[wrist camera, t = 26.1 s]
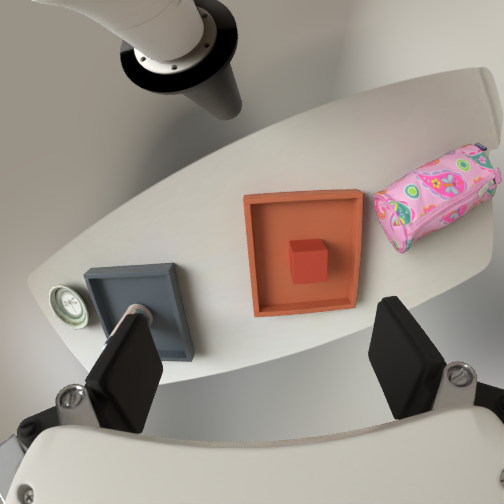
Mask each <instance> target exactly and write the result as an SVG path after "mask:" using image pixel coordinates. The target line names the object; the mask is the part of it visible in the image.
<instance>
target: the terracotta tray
mask: <svg viewBox="0 0 504 504" xmlns="http://www.w3.org/2000/svg"><path fill="white" fill-rule="evenodd" d="M243 202H244V213H245V223H246V234H247V245H248V256H249V266H250V277H251V287H252V298H253V308H254V317H265V316H279V315H292V314H303V313H314V312H323V311H333V310H341V309H350V308H356V300H357V291H358V281H359V270H360V257H361V241H362V217H363V192H361V191H359V190H357V189H346V190H317V191H296V192H279V193H264V194H251V195H244V198H243ZM307 239H321V240H322V242H323V243H324V245H325V246H326V248H327V250H328V268H327V282H318V283H307V284H295V285H294V284H293V281H292V277H291V273H290V262H289V241H292V240H307Z"/></svg>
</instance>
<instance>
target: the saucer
mask: <svg viewBox="0 0 504 504" xmlns="http://www.w3.org/2000/svg"><path fill="white" fill-rule="evenodd" d="M49 302H50V306H51V308H52V311H53V312H54V314H55V315H56V317H57V318H58V319H59V320H60V321H61V322H62V323H63V324H65V325H66V326H68V327H70V328H72V329H83V328H85V327H86V326H87V324H88V322H89V313H88V309H87V307H86V304H85V303H84V301H83V299H82V298H81V296H80V295H79V294H78V293H77V292H76V291H74V290H73V289H72V288H70V287H68V286H65V285H56V286H54V287H53V288H52V289H51V290H50V293H49Z"/></svg>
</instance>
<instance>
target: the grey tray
mask: <svg viewBox="0 0 504 504" xmlns="http://www.w3.org/2000/svg"><path fill="white" fill-rule="evenodd" d="M84 278H85V281H86V284H87V287H88V290H89V293H90V296H91V299H92V301H93V304H94V307H95V310H96V312H97V315H98V317H99V320H100V322H101V325H102V327H103V330H104V332H105V334H106V337H107V339H108V338H109V336H110V335H111V333H112V332H113V330H114V329H115V327H116V326H117V324H118V323H119V321H120V320H121V318H122V317H123V315H124V314H125V312H126V311H127V309H128V307H129V306H131V305H133V304H140V305H143V306H144V307H146V308H147V309H148V310H149V311H150V312H151V314H152V317H153V322H152V324H151V326H150V328H149V329H150V332H151V335H152V337H153V340H154V343H155V346H156V349H157V351H158V354H159V357H160V359H161V361H186V362H192V360H193V356H194V353H195V351H194V348H193V344H192V340H191V337H190V333H189V329H188V325H187V321H186V317H185V313H184V309H183V305H182V300H181V296H180V292H179V287H178V283H177V278H176V273H175V268H174V263H164V264H149V265H133V266H118V267H102V268H90V269H89V270H88V271H87V272H86V273H85V274H84Z"/></svg>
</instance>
